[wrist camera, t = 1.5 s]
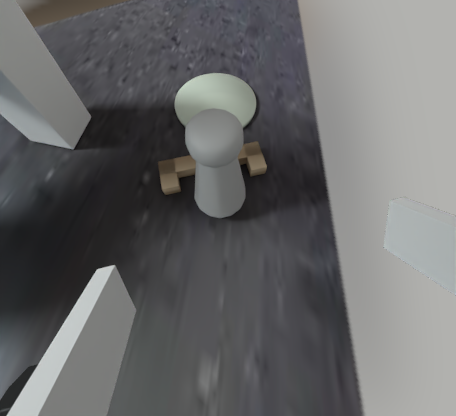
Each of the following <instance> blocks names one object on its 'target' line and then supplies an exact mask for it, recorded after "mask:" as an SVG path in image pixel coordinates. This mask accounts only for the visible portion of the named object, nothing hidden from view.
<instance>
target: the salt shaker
mask: <svg viewBox="0 0 456 416" xmlns="http://www.w3.org/2000/svg"><path fill="white" fill-rule="evenodd" d="M243 142H244V141H243V127H242V124H241V123H240V121H239V120H238V118H237V117H236V116H235V115H233V114H231V113H230V112H228V111H226V110H222V109H215V108H212V109H207V110H203V111H201V112H199V113H198V114H196V115H194V116H193V117H192V118H191V119H190V121H189V122H188V124H187V125H186V130H185V143H186V146H187V149H188V151H189V153H190V155H191V157H192V158H193V159H194V160H195V161H196V169H195V197H194V199H195V201H196V203H197V205H198V207H199V209H200V210H202V211H203V212H204V213H206V214H207V215H208V216H212V217H217V218H223V217H227V216H231V215H233V214H234V213H235V212H237V211H238V210H239V209H240V208H241V207H242V204H243V202H244V200H245V184H244V180H243V176H242V172H241V168H240V164H239V161H238V155H239V153H240V151H241V149H242V147H243Z"/></svg>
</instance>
